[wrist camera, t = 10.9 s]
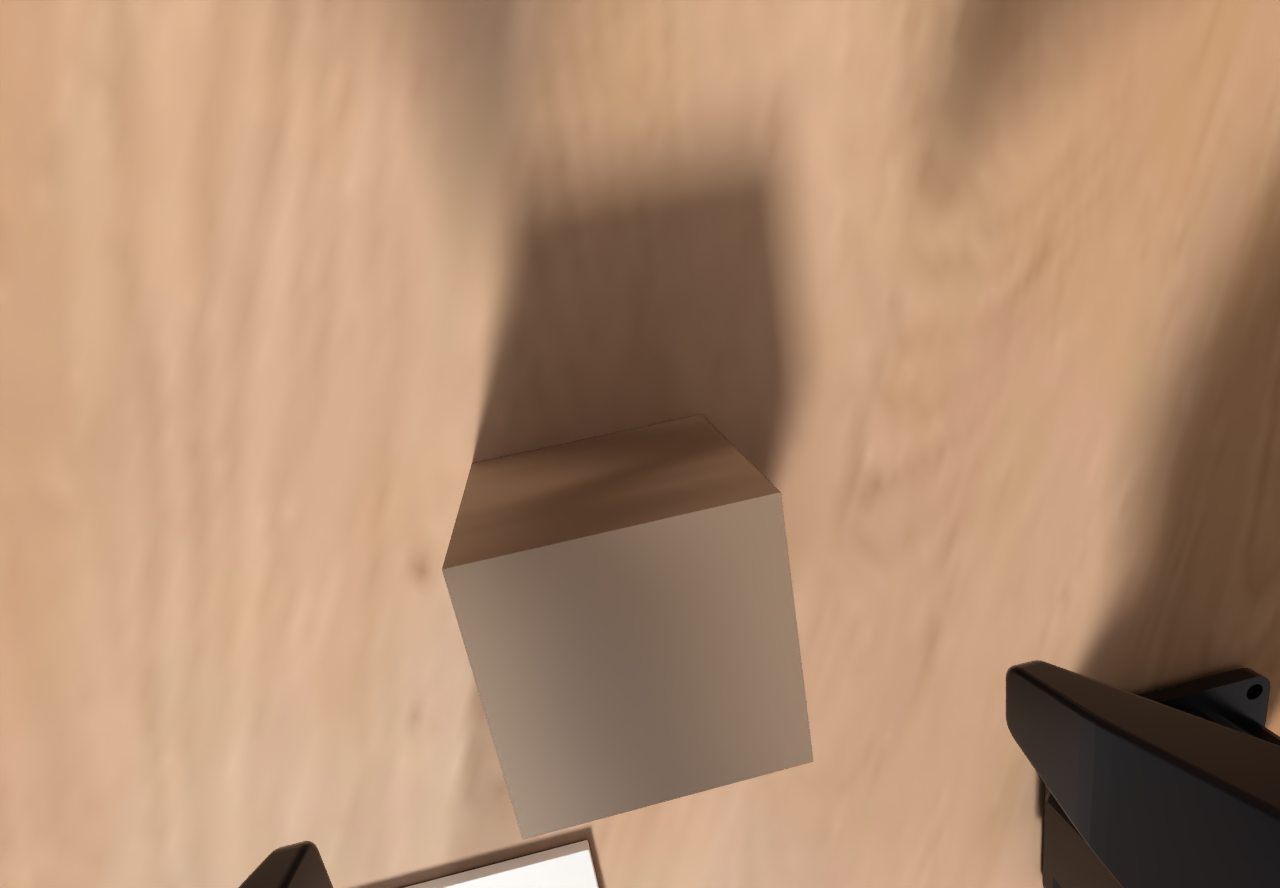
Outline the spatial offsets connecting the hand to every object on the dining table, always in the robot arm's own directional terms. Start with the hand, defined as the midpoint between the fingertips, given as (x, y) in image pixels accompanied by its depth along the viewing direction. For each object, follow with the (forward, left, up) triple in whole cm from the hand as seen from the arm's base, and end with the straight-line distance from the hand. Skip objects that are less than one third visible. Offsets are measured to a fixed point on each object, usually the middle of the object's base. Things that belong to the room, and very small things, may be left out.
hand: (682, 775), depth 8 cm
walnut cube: (0, 0, -7) cm, 7 cm away
